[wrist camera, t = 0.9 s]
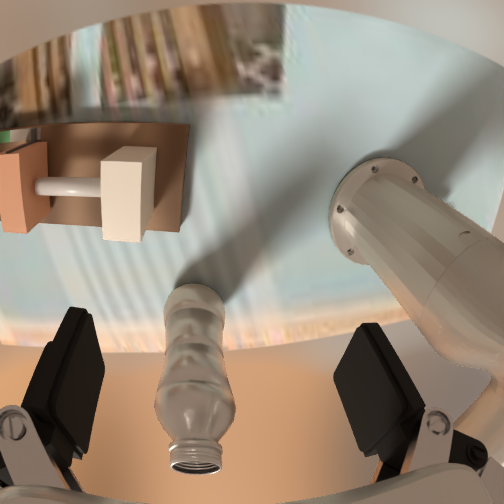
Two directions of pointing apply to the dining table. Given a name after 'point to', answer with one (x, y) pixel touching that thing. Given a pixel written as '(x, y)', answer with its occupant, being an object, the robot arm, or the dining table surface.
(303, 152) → the dining table surface
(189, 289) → the plastic bottle
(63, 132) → the base
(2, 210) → the block
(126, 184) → the plunger
